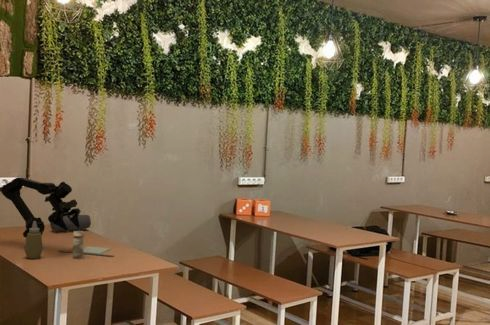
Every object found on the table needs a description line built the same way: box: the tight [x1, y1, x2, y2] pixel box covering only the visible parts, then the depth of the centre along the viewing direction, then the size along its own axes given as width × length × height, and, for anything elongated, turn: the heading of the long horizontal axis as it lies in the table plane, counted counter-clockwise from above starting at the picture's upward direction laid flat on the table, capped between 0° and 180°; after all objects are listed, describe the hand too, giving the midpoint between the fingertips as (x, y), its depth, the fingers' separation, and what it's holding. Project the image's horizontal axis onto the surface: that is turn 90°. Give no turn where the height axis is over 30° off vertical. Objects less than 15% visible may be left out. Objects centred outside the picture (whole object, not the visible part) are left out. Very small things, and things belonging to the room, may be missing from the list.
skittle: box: [72, 230, 85, 260], centre depth 260 cm, size 5×5×13 cm
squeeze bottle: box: [24, 221, 44, 260], centre depth 255 cm, size 8×8×18 cm
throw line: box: [58, 250, 115, 258], centre depth 268 cm, size 30×2×1 cm, turn 80°
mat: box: [83, 245, 111, 254], centre depth 277 cm, size 13×13×1 cm
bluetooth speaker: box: [49, 214, 92, 233], centre depth 325 cm, size 23×9×10 cm, turn 133°
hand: (73, 228), depth 266 cm, fingers open, 9 cm apart
